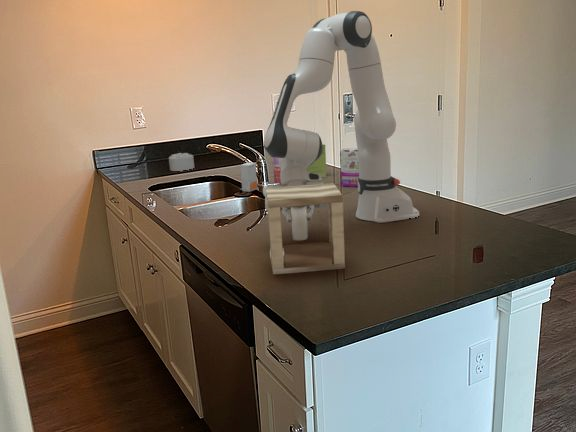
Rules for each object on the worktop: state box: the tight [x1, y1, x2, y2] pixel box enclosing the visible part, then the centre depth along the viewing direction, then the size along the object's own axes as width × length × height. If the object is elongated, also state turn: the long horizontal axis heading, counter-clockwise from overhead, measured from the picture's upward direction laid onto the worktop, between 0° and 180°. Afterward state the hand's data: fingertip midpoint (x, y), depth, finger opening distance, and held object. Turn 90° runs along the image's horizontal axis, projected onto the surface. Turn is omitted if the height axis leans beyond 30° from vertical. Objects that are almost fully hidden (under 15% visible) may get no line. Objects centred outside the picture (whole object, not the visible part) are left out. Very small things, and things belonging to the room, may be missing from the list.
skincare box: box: [240, 162, 258, 193], centre depth 260 cm, size 6×4×12 cm
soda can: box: [273, 164, 281, 184], centre depth 248 cm, size 7×7×13 cm
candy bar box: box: [339, 148, 359, 188], centre depth 256 cm, size 11×5×16 cm, turn 68°
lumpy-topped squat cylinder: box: [168, 152, 195, 172], centre depth 319 cm, size 10×13×9 cm
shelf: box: [265, 182, 346, 275], centre depth 167 cm, size 17×20×21 cm
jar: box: [290, 205, 309, 241], centre depth 180 cm, size 5×5×12 cm
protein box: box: [306, 143, 327, 178], centre depth 278 cm, size 10×15×16 cm
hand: (299, 220), depth 179 cm, fingers closed on jar, 5 cm apart
